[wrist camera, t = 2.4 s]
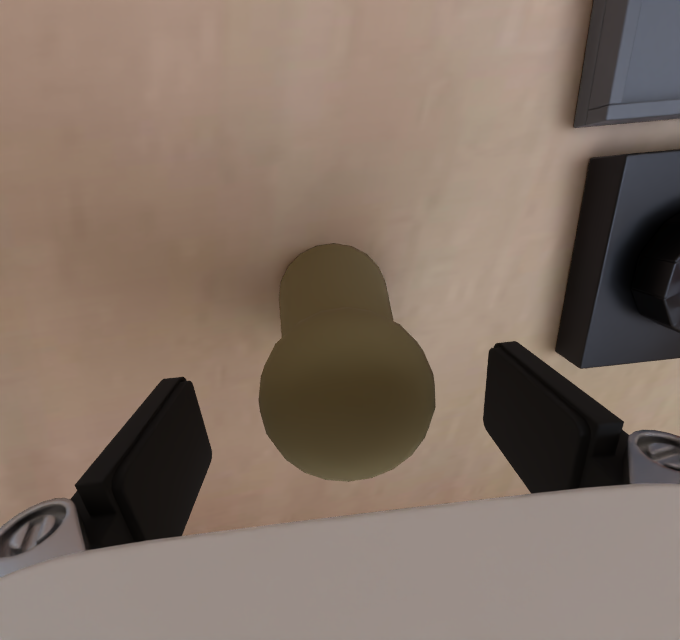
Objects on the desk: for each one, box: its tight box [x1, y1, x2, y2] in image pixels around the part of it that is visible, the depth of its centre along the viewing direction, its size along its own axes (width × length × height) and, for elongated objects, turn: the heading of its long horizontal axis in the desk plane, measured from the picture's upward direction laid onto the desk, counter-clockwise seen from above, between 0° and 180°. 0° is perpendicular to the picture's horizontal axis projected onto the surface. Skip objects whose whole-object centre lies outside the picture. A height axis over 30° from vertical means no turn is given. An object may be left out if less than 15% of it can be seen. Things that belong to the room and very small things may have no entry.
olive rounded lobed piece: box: [259, 243, 435, 482], centre depth 14 cm, size 6×6×11 cm
